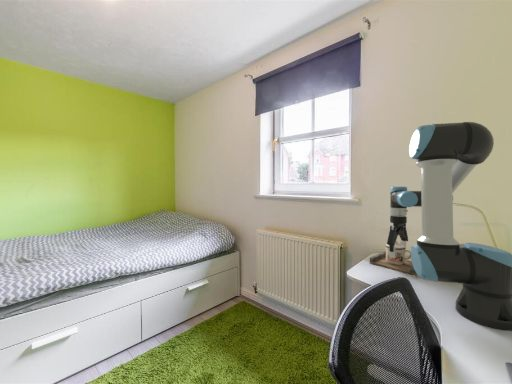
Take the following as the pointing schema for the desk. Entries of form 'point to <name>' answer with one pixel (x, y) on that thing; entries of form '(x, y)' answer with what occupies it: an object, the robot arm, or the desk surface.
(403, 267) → the rail board
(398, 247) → the teacup with lid
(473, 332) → the desk surface
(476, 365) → the desk surface
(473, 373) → the desk surface
